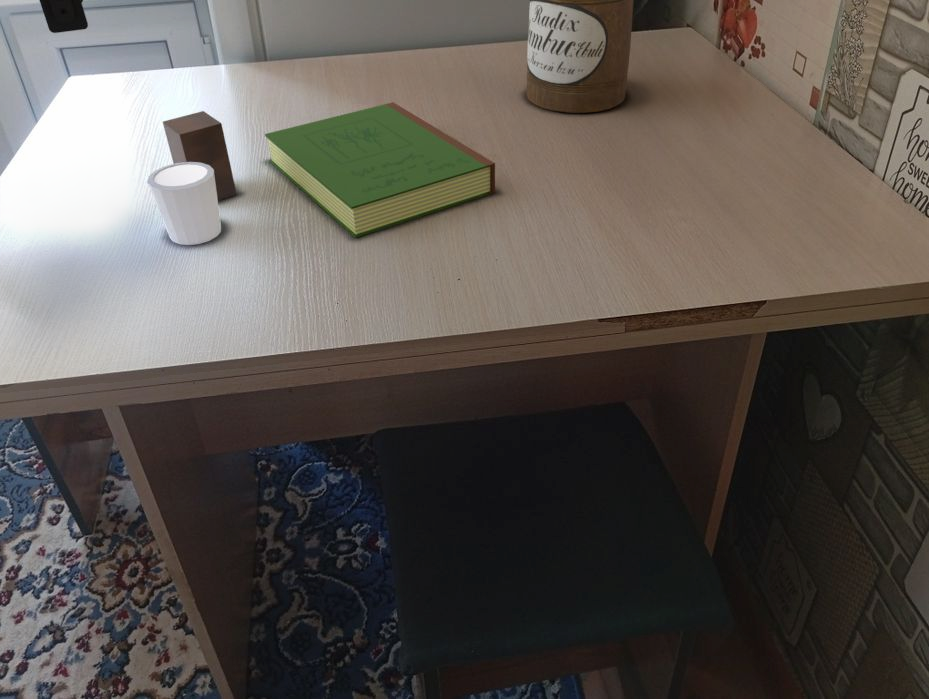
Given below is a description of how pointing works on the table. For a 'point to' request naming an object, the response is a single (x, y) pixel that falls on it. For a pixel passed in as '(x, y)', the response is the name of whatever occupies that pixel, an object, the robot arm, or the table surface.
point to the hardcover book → (379, 167)
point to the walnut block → (202, 147)
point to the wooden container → (578, 54)
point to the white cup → (187, 201)
